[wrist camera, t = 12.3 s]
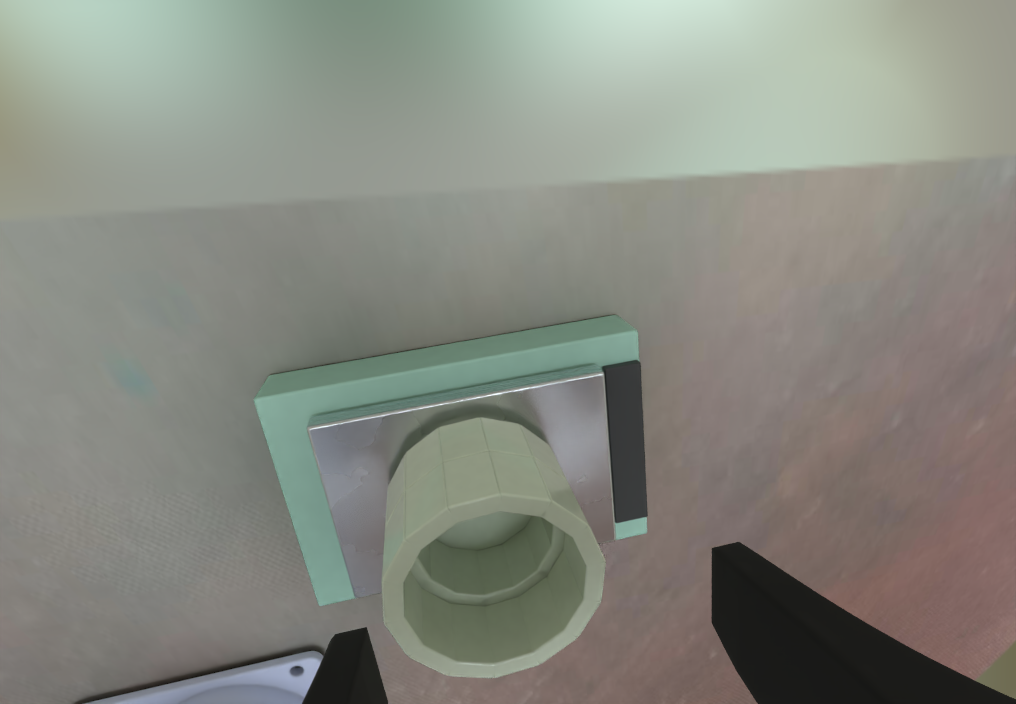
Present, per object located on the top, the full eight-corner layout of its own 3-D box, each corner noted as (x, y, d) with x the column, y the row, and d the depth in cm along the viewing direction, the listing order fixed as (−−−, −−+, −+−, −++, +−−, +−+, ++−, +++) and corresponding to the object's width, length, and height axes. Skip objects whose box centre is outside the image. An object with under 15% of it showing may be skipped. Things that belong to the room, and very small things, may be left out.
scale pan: (356, 582, 19) (354, 600, 18) (309, 415, 17) (305, 427, 16) (609, 527, 20) (617, 541, 19) (596, 362, 18) (605, 371, 17)
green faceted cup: (437, 586, 18) (445, 711, 14) (355, 458, 16) (337, 560, 12) (583, 516, 18) (634, 620, 14) (519, 380, 16) (556, 455, 12)
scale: (326, 567, 21) (317, 614, 19) (267, 374, 18) (249, 403, 16) (628, 502, 22) (651, 539, 20) (616, 313, 19) (642, 332, 17)
